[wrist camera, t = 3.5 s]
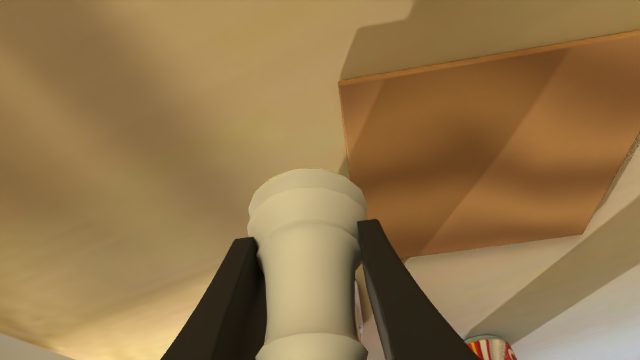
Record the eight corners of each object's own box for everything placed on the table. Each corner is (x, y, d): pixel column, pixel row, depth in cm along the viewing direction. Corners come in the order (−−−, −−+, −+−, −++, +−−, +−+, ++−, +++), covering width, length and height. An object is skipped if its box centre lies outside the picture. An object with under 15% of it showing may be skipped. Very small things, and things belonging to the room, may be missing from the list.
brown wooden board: (577, 228, 25) (582, 234, 24) (359, 258, 26) (360, 264, 25) (688, 21, 15) (700, 24, 15) (337, 80, 16) (338, 85, 16)
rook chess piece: (295, 257, 14) (290, 517, 8) (224, 196, 12) (137, 503, 6) (385, 216, 13) (465, 492, 7) (326, 137, 10) (363, 458, 4)
